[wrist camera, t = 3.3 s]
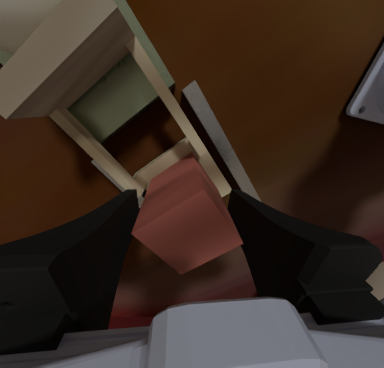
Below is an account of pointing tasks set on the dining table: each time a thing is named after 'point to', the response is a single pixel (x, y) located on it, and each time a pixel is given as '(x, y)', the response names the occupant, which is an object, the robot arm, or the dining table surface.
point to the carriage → (143, 179)
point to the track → (142, 103)
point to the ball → (21, 20)
